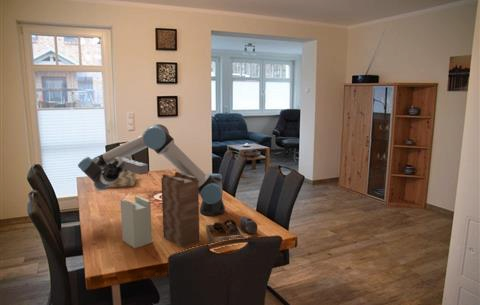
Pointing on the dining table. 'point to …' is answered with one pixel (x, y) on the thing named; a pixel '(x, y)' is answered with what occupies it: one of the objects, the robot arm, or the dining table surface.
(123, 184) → the zigzag patterned box
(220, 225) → the pottery mug
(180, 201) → the walnut stand
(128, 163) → the bar
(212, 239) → the coaster tray
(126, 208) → the slotted cradle
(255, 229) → the perforated stone tool
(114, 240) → the dining table surface
